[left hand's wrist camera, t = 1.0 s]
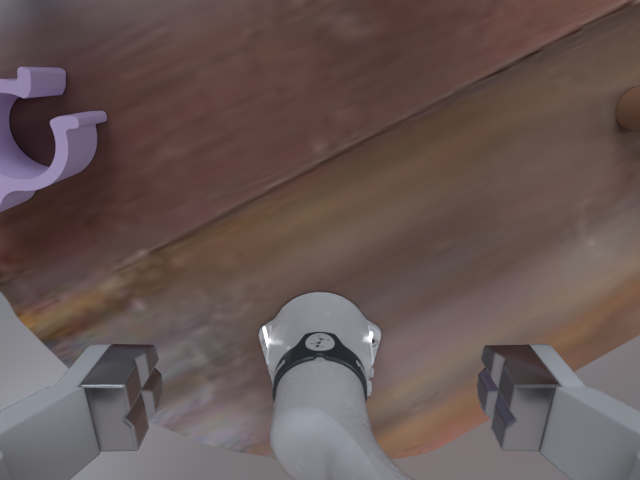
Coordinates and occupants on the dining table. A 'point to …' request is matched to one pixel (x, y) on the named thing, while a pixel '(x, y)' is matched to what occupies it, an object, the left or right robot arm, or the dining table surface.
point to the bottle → (629, 110)
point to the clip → (69, 131)
